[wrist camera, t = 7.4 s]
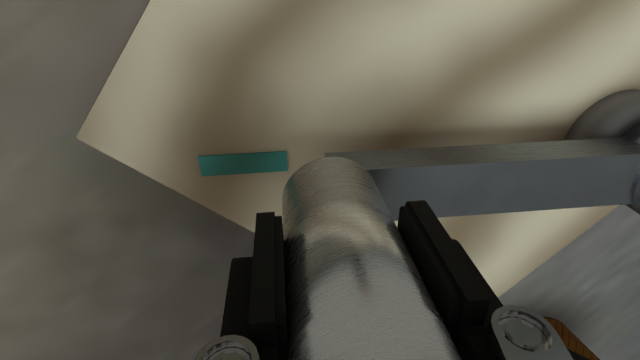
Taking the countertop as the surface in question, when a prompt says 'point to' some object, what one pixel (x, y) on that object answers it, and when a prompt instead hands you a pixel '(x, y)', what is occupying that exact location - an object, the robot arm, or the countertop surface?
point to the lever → (388, 246)
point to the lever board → (368, 98)
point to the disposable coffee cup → (571, 340)
